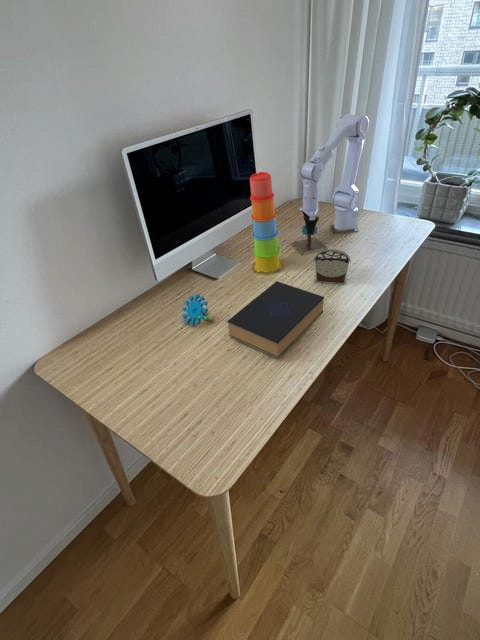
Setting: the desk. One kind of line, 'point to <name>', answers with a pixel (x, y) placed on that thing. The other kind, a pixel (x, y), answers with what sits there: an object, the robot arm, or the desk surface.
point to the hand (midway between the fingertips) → (309, 230)
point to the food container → (331, 266)
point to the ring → (304, 230)
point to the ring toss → (309, 244)
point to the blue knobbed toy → (195, 310)
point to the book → (276, 318)
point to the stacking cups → (264, 223)
